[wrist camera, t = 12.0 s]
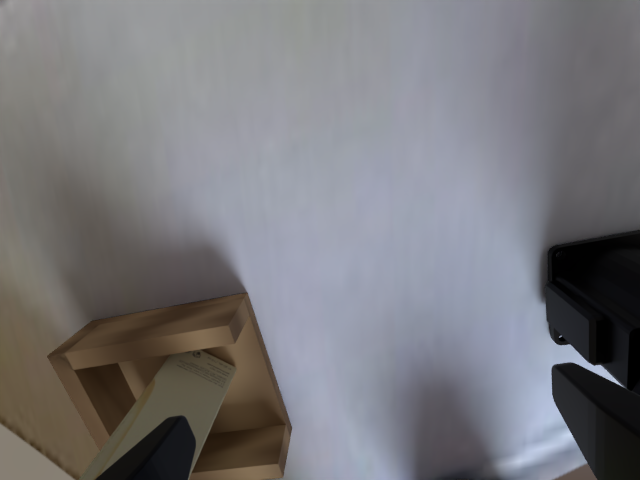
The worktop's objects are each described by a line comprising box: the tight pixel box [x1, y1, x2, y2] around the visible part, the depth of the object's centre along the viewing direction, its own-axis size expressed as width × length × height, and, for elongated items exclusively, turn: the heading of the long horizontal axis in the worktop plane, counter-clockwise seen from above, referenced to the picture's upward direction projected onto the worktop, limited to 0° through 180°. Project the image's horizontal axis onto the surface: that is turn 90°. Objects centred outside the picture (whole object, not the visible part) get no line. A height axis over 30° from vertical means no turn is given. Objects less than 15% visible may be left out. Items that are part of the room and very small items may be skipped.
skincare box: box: [79, 350, 237, 480], centre depth 18 cm, size 6×4×12 cm
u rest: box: [47, 293, 292, 480], centre depth 23 cm, size 11×11×4 cm
